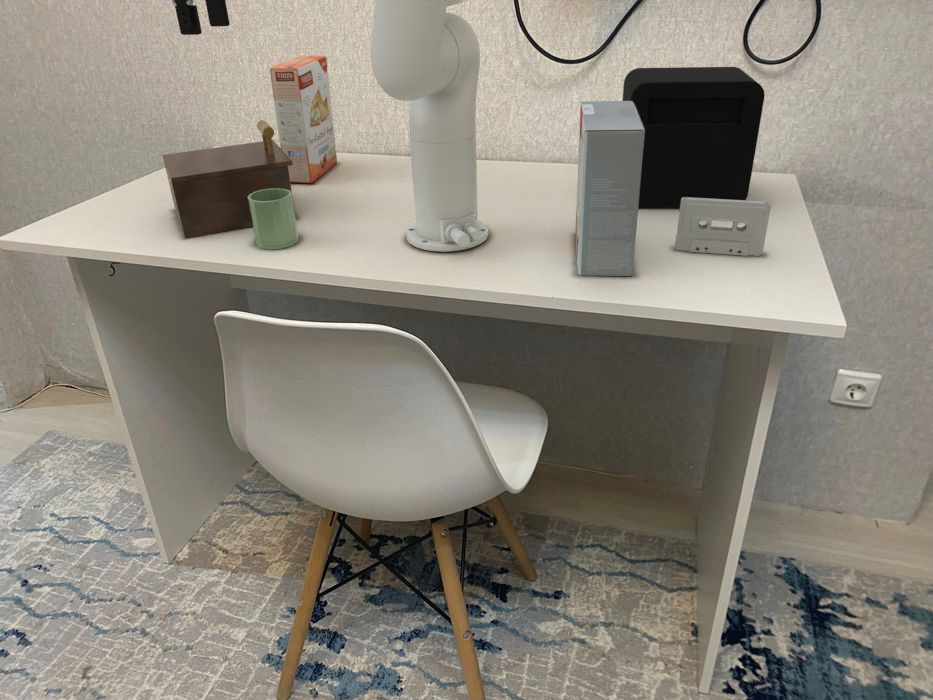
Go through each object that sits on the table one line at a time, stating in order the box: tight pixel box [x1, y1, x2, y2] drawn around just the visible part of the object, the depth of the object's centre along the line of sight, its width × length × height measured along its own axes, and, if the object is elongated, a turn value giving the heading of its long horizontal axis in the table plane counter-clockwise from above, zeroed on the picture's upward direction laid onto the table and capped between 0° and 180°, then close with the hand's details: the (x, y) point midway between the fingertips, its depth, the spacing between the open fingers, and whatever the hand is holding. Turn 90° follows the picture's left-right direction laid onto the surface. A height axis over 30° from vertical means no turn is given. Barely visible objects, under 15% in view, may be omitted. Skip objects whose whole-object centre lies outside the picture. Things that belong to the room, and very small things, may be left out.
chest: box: [163, 161, 297, 239], centre depth 124 cm, size 18×15×9 cm
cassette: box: [674, 197, 772, 257], centre depth 104 cm, size 12×2×8 cm, turn 75°
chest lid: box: [162, 119, 293, 183], centre depth 120 cm, size 19×15×5 cm
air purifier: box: [622, 66, 765, 209], centre depth 123 cm, size 20×15×20 cm
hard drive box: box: [575, 100, 645, 277], centre depth 101 cm, size 16×8×20 cm, turn 174°
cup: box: [247, 188, 299, 251], centre depth 113 cm, size 6×6×8 cm
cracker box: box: [269, 55, 338, 184], centre depth 140 cm, size 14×6×21 cm, turn 168°
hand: (206, 30), depth 116 cm, fingers open, 9 cm apart
